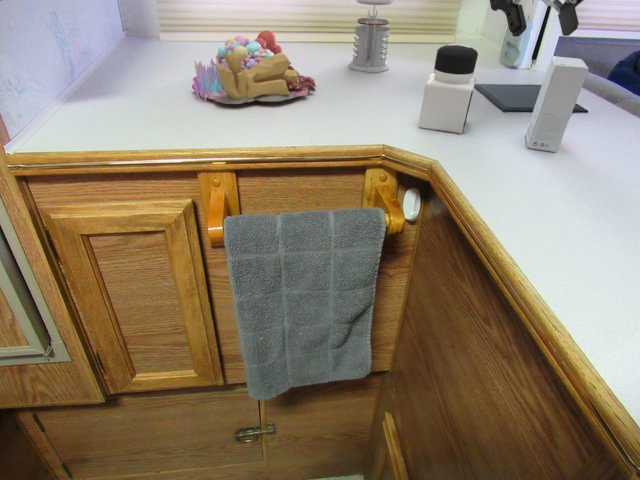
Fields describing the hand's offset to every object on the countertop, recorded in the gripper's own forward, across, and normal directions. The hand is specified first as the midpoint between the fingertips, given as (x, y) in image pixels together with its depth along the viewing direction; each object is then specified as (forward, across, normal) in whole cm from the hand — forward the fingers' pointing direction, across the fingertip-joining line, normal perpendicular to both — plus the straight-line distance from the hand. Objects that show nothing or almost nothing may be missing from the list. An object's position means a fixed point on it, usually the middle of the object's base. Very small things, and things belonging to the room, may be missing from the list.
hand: (545, 32), depth 62 cm
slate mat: (0, +12, +20) cm, 23 cm away
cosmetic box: (+15, 0, +6) cm, 16 cm away
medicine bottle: (+8, -11, +13) cm, 19 cm away
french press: (-18, -12, +39) cm, 45 cm away
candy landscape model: (-10, -41, +30) cm, 52 cm away
